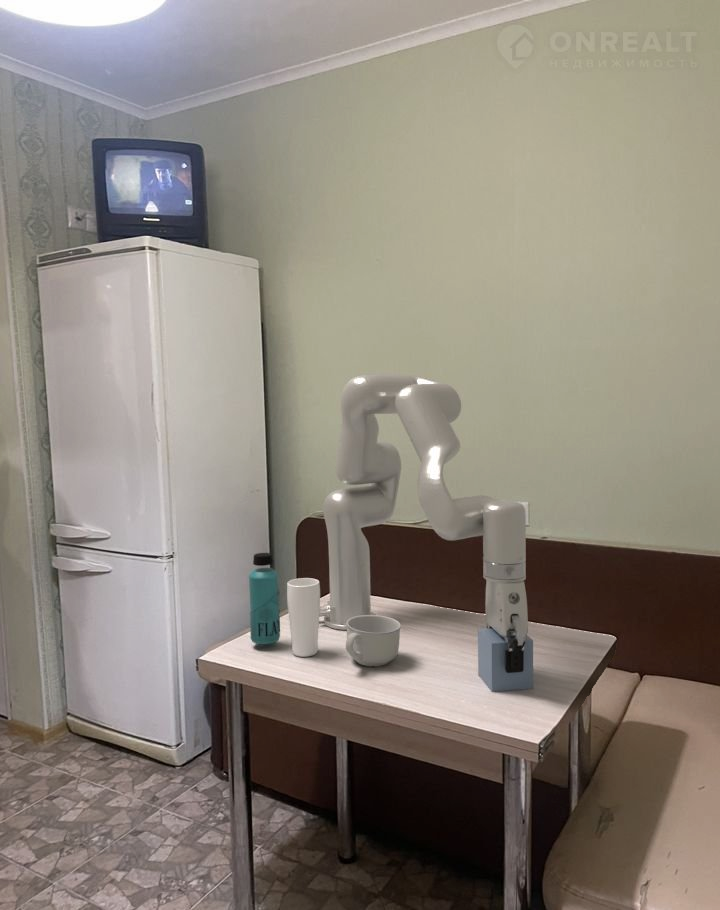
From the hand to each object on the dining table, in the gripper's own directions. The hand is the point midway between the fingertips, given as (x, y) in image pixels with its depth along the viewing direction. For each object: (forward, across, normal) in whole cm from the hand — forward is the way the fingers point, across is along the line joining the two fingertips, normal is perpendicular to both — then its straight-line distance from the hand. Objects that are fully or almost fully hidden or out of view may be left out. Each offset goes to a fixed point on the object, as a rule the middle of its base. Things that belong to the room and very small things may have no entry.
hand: (504, 661), depth 128 cm
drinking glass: (+4, +22, +35) cm, 42 cm away
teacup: (+4, +14, +23) cm, 27 cm away
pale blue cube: (+4, 0, 0) cm, 4 cm away
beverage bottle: (+4, +28, +43) cm, 51 cm away
